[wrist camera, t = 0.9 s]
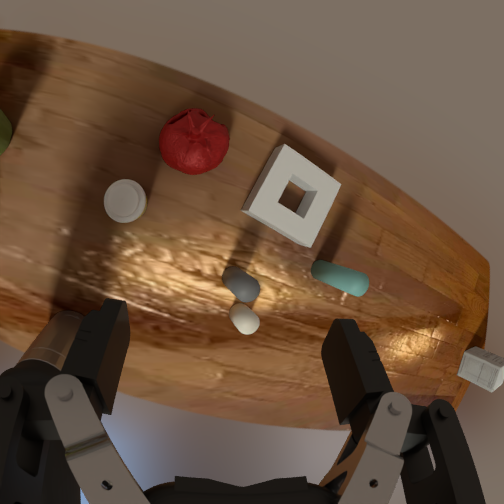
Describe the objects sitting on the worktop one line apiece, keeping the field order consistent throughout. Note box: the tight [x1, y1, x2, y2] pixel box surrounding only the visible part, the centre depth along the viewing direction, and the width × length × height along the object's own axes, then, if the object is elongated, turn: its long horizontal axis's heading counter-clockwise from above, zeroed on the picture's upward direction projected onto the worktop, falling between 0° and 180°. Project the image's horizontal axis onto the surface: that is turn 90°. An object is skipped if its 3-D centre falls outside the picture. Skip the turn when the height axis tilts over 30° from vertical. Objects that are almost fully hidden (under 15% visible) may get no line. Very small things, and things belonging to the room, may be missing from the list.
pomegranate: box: [159, 108, 230, 175], centre depth 40 cm, size 10×10×9 cm
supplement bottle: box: [104, 179, 147, 223], centre depth 38 cm, size 6×6×10 cm
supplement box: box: [457, 346, 504, 392], centre depth 72 cm, size 10×9×17 cm
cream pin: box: [229, 303, 259, 334], centre depth 48 cm, size 4×4×5 cm
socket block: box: [241, 144, 341, 248], centre depth 48 cm, size 12×12×4 cm
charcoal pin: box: [222, 266, 260, 302], centre depth 46 cm, size 4×4×8 cm
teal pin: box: [311, 260, 369, 296], centre depth 49 cm, size 4×4×12 cm
